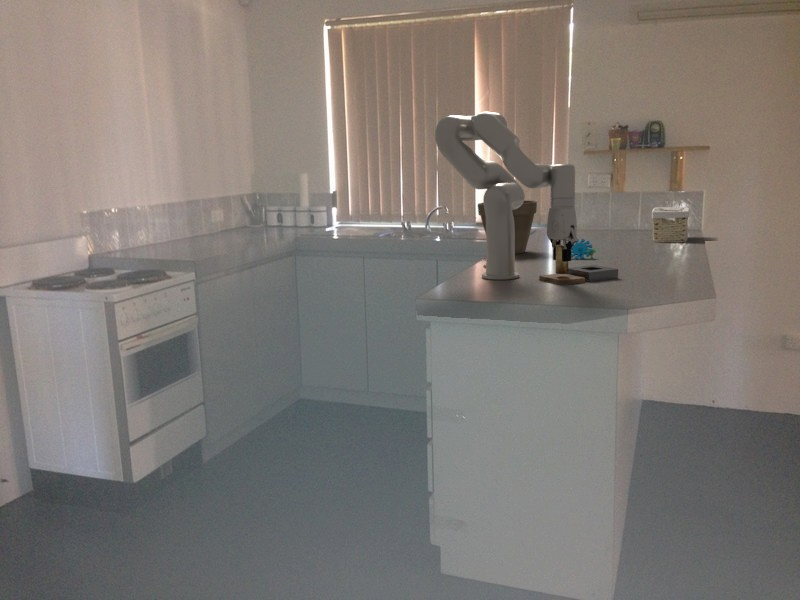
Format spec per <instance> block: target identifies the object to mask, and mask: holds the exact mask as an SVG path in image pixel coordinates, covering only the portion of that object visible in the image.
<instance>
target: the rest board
mask: <svg viewBox="0 0 800 600" xmlns="http://www.w3.org/2000/svg"><path fill="white" fill-rule="evenodd" d="M538 279H539V281H541V282H545V281H546V283H550V284H555V285H559V286H567V285H575V284H576V285H577V284H584V283H586V281H585V278H583V277H578V276H573V275H568V274H556V273H552V274H544V275H542V274H541V275H539V278H538Z"/></svg>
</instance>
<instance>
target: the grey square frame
mask: <svg viewBox="0 0 800 600" xmlns="http://www.w3.org/2000/svg"><path fill="white" fill-rule="evenodd" d="M568 275H573V276H578V277H583V278H585V282H596V281H597V282H598V281H604V280H605V281H606V280H612V279H614V278H615V279H619V269H618V268H613V267H609V266H602V265H596V264H591V265H580V266H573V267H572V266H571V267H568Z"/></svg>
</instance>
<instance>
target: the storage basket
mask: <svg viewBox="0 0 800 600" xmlns="http://www.w3.org/2000/svg"><path fill="white" fill-rule="evenodd" d="M689 218H690V207H689V206H668V207H667V206H659V207H653V209H652V211H651V220H652V240H653V242H654V243H681V244H682V243H687V240H688V221H689V220H688V219H689Z"/></svg>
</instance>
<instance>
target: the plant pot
mask: <svg viewBox="0 0 800 600" xmlns="http://www.w3.org/2000/svg"><path fill="white" fill-rule="evenodd" d="M537 207H538V202H537V200H529V199H527V200H526V199H524V202H523V204H522V205H521V206H520V207H519V208H517V209H515V210H512V212H513V217H514V227H515V255H516V254H522V253H525V252H526V250H527V246H528V243H529V238H530V235H531V230H532V226H533V223H534V222H533V221H534V216H535V214H536V213H537V211H538V210H537V209H538V208H537ZM477 213H478V215H479V216H480V219H481V222H482V226H483V229H484V233H485V234H486V216H485V210H484V203H483V202H480V203H478V204H477Z"/></svg>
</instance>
